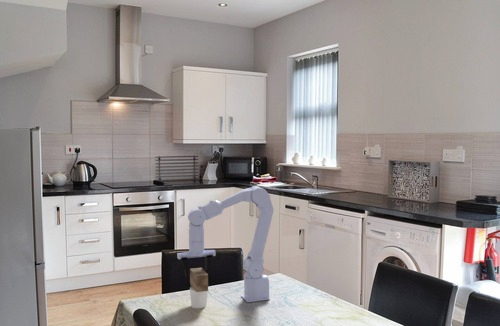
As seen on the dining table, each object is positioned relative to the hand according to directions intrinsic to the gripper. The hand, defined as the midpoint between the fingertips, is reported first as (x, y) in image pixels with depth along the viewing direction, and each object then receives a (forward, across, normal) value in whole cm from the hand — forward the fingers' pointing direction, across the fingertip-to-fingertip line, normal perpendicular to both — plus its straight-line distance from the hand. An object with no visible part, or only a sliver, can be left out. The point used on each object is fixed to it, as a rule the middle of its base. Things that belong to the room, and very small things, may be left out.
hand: (196, 275), depth 171 cm
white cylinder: (+11, 0, -3) cm, 11 cm away
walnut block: (+3, 0, -3) cm, 5 cm away
